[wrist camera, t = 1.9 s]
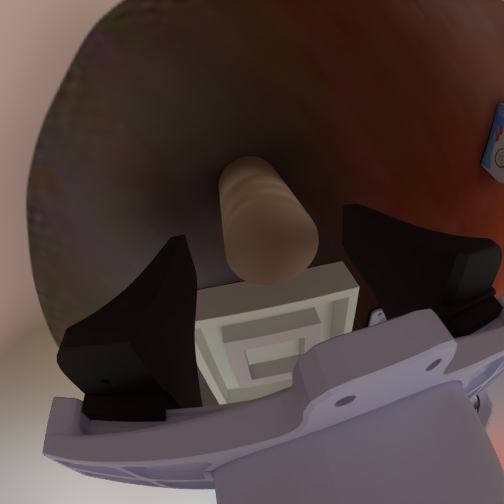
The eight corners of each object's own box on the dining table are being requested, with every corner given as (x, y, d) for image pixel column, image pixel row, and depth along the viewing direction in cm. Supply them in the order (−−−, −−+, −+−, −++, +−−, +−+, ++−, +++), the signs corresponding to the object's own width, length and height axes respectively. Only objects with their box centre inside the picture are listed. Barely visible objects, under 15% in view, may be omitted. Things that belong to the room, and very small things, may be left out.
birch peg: (274, 151, 17) (317, 196, 11) (280, 206, 19) (318, 275, 13) (213, 162, 17) (216, 214, 10) (224, 216, 19) (234, 292, 13)
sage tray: (342, 260, 23) (359, 286, 20) (330, 366, 32) (338, 388, 29) (179, 293, 22) (176, 324, 19) (222, 389, 32) (224, 413, 29)
